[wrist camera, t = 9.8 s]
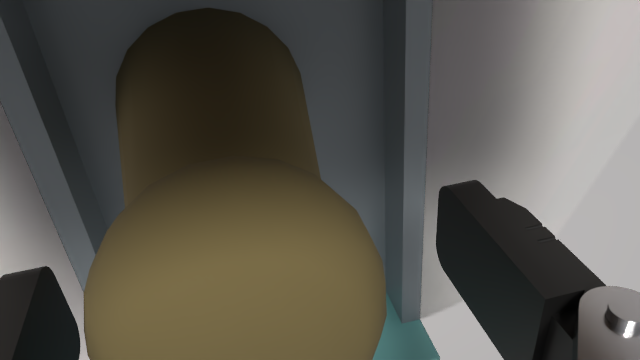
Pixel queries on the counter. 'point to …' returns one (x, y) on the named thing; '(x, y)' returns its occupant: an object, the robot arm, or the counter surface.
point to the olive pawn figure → (226, 210)
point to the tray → (321, 98)
